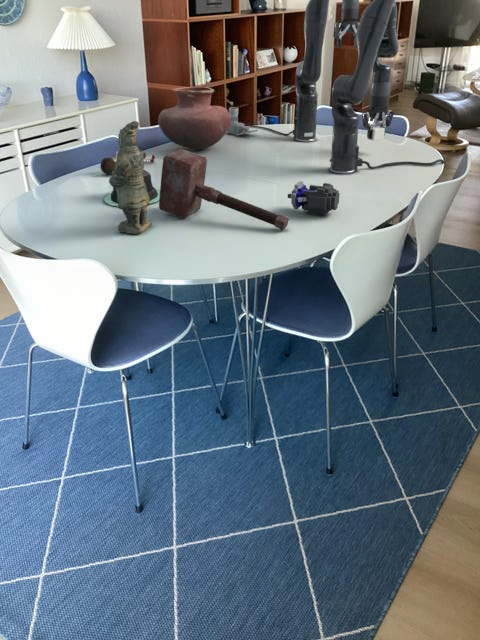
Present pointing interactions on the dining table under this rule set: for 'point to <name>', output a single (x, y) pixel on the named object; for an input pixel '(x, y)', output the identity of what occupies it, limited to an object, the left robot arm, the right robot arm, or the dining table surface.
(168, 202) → the sledgehammer
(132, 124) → the statue
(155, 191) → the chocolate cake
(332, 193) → the toy
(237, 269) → the dining table surface
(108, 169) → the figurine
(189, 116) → the clay pot
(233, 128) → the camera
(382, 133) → the block
